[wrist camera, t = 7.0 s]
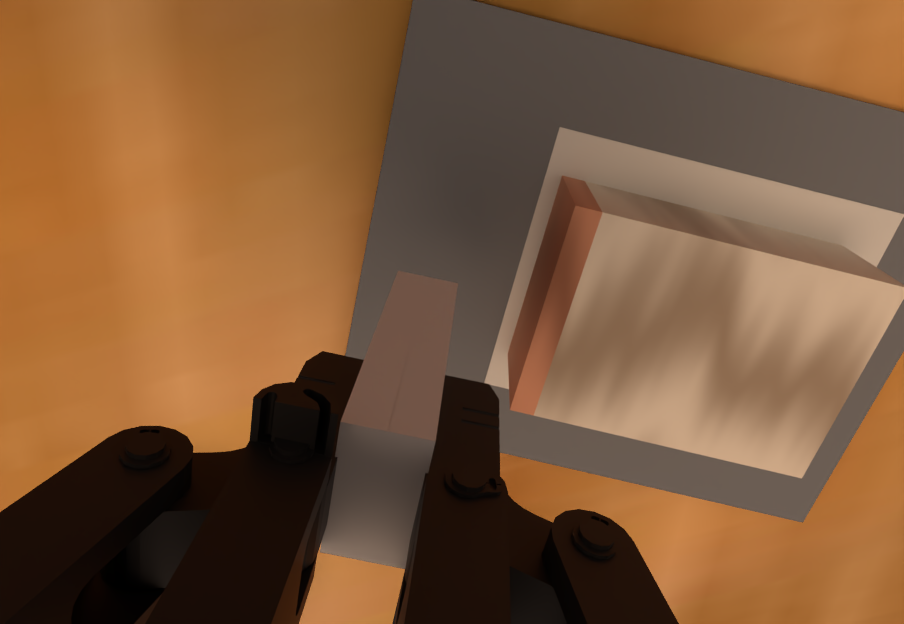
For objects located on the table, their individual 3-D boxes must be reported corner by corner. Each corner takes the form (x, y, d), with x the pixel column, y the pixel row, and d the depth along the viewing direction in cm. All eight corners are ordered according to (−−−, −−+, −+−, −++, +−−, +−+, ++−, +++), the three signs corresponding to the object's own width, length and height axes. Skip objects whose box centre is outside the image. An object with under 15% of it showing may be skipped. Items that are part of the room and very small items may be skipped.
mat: (417, -14, 21) (415, -15, 20) (1012, 140, 22) (1026, 144, 21) (337, 405, 27) (333, 414, 27) (796, 512, 28) (803, 523, 27)
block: (575, 205, 19) (909, 288, 19) (562, 175, 22) (842, 245, 23) (509, 409, 21) (801, 478, 22) (507, 353, 25) (757, 412, 25)
